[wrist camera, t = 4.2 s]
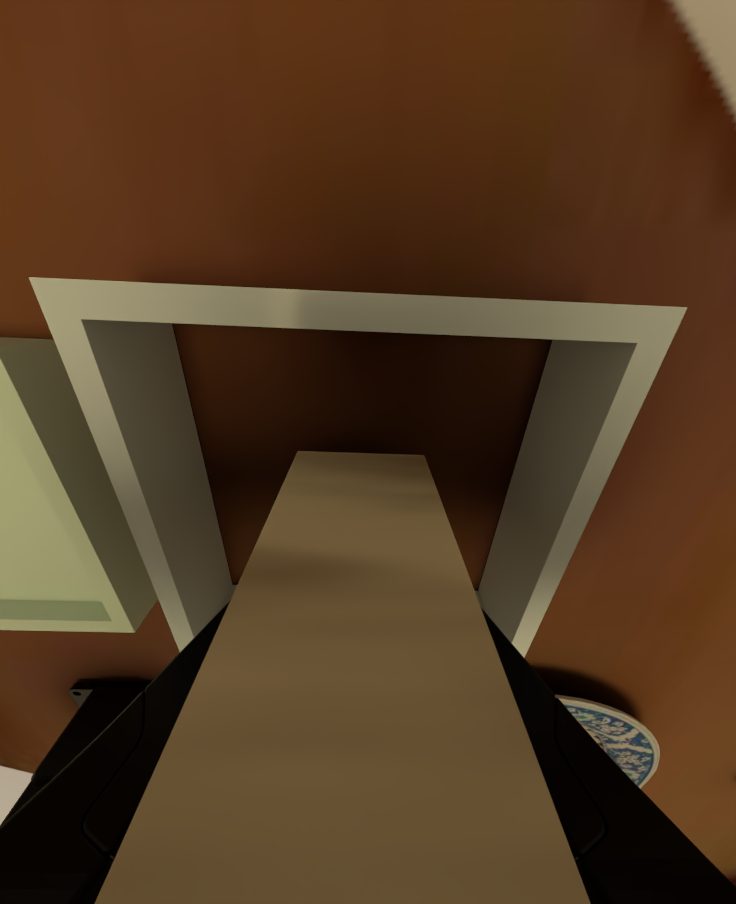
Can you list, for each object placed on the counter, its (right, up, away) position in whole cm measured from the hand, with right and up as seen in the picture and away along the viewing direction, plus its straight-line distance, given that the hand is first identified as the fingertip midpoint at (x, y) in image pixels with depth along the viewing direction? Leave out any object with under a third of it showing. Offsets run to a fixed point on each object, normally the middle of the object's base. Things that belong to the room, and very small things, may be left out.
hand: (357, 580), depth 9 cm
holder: (0, +2, +5) cm, 5 cm away
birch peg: (0, +2, +3) cm, 4 cm away
